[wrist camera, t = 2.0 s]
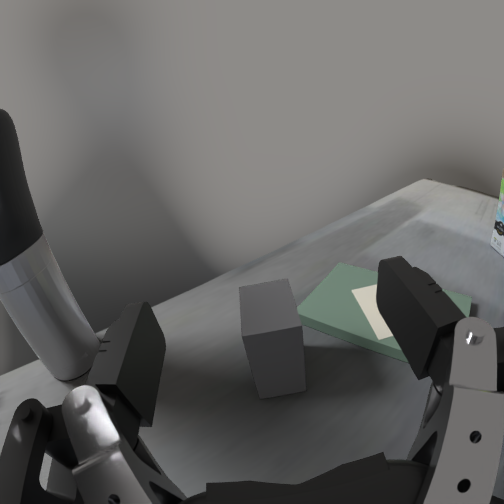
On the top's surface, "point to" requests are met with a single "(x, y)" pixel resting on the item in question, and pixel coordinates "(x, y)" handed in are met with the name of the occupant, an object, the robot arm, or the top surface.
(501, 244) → the tea box
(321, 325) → the board
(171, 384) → the top surface
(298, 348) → the dark grey rectangular block
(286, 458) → the top surface
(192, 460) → the top surface
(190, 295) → the top surface
